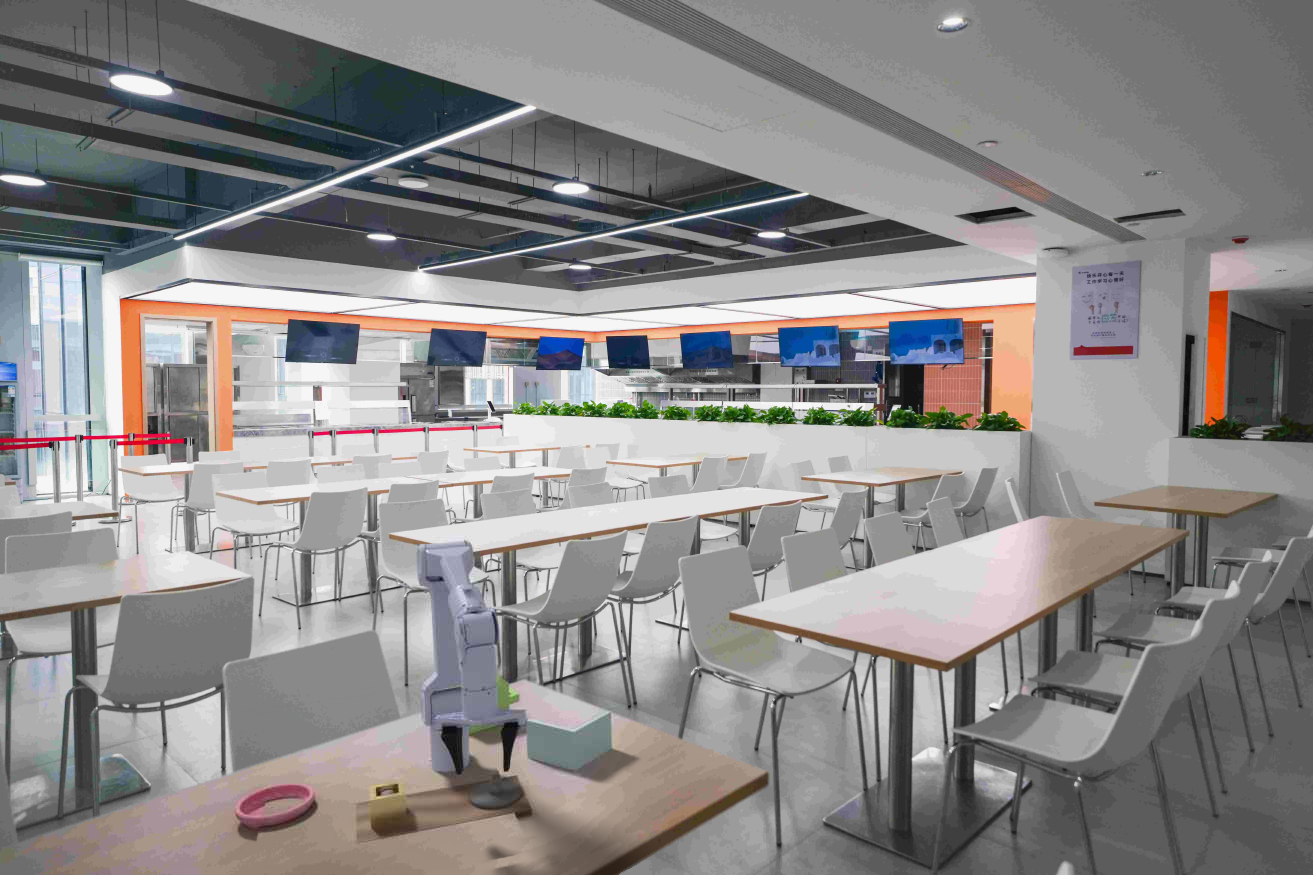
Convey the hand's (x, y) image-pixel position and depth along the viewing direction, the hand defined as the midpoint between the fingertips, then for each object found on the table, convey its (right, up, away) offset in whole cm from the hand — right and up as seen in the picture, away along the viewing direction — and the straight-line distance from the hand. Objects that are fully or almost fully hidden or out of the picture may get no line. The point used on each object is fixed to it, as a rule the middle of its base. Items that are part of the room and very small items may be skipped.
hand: (483, 770), depth 132 cm
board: (-8, -10, +7) cm, 15 cm away
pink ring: (-37, -11, +7) cm, 39 cm away
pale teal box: (+11, -9, +30) cm, 34 cm away
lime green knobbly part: (-11, -9, +46) cm, 48 cm away
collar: (-17, -9, +4) cm, 20 cm away
